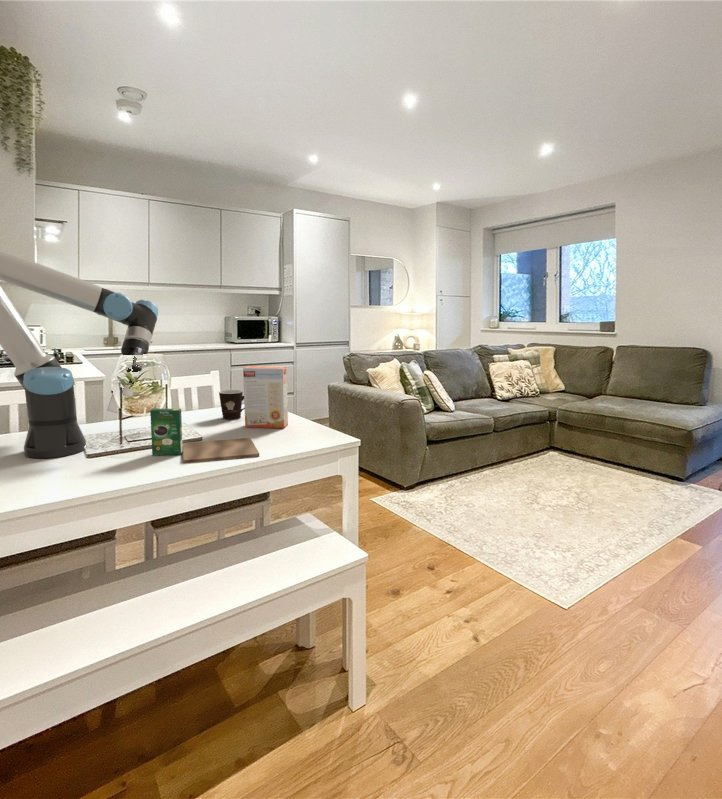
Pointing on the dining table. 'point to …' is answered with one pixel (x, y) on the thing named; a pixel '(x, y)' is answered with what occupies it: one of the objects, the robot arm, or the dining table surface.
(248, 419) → the cracker box
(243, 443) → the walnut board
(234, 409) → the coffee mug
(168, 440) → the coffee box
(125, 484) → the dining table surface
